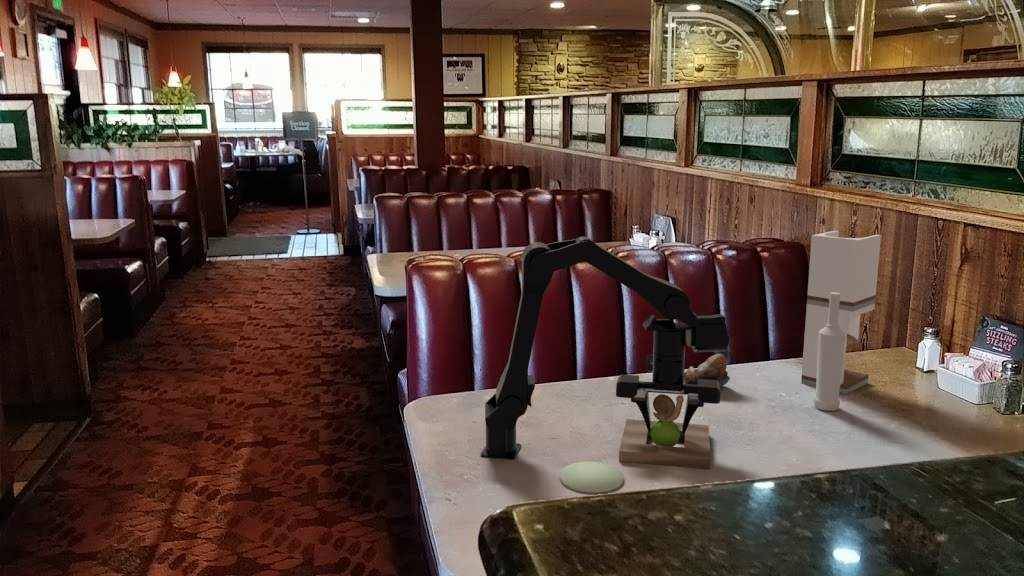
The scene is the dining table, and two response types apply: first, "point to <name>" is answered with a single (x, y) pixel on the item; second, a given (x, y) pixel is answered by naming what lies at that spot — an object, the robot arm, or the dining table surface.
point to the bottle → (830, 359)
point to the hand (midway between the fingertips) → (666, 432)
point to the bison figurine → (709, 370)
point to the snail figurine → (666, 420)
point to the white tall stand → (855, 278)
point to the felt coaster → (591, 477)
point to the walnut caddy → (687, 456)
